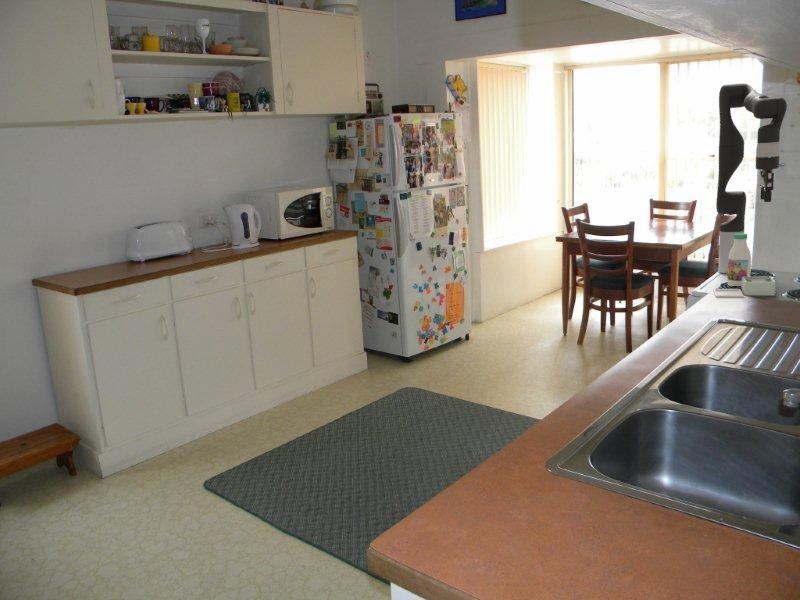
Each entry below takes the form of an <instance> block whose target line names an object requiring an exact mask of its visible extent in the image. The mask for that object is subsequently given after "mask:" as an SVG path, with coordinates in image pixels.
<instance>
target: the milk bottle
mask: <svg viewBox="0 0 800 600" xmlns="http://www.w3.org/2000/svg"><path fill="white" fill-rule="evenodd" d="M747 240H748V234H747V233H745V232H744V233H737V234H734V244H733V247H732V249H731V251H730V253H729V259H728V273H727V286H728V285H729V287H732V286H742V277H751V272H752V271H751V267H752V256H751V255H752V254H751V250H750V249H749V247H748V242H747Z"/></svg>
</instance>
